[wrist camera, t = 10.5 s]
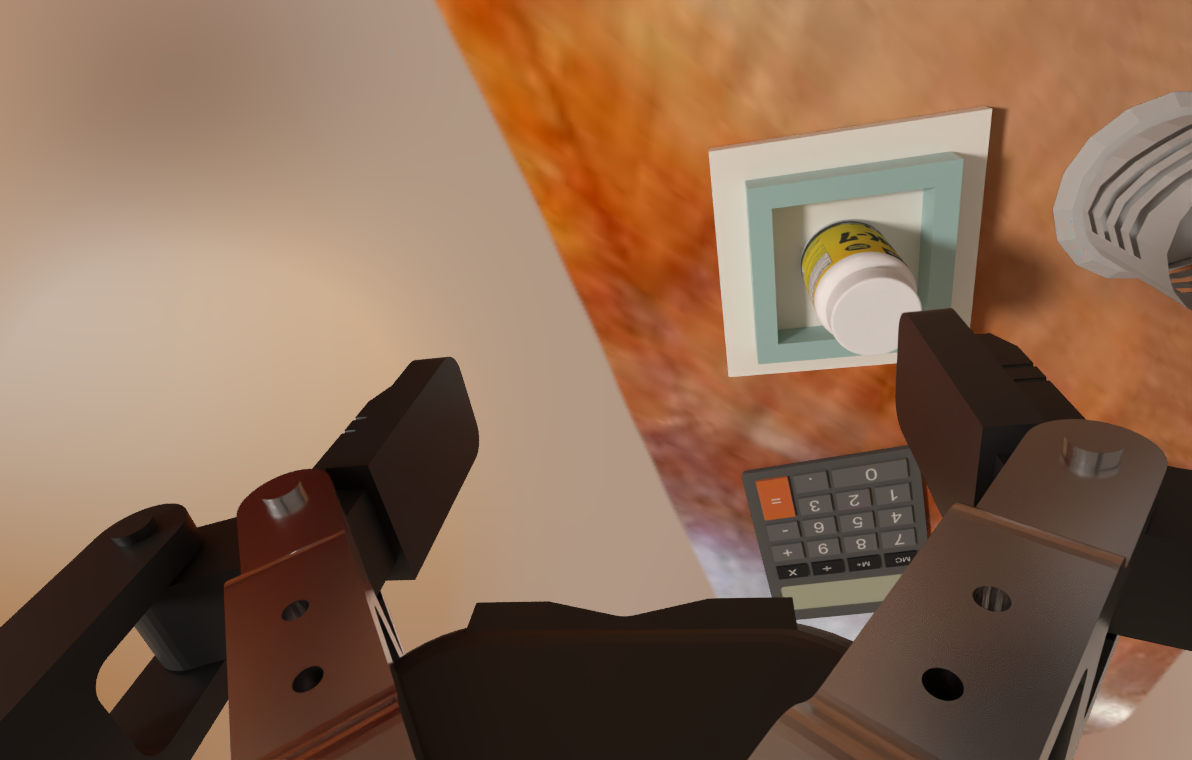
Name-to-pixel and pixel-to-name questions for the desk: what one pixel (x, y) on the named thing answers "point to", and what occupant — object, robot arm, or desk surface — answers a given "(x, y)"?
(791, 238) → the dock socket
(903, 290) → the supplement bottle
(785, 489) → the calculator
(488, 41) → the desk surface
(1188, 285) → the french press
